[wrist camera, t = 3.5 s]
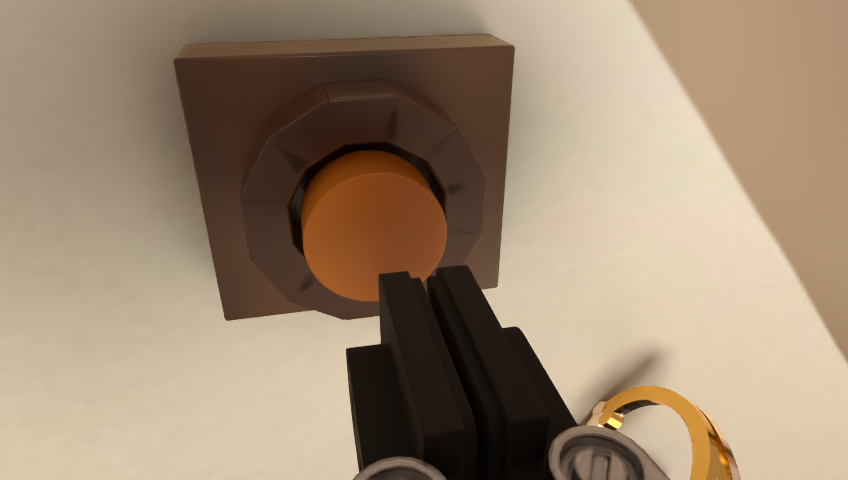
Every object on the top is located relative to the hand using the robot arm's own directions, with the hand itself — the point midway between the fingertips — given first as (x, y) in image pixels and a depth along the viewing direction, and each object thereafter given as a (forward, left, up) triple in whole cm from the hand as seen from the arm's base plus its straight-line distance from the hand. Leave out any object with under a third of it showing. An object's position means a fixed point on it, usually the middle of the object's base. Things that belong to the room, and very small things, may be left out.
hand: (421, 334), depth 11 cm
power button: (0, 0, -6) cm, 6 cm away
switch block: (0, 0, -9) cm, 9 cm away
